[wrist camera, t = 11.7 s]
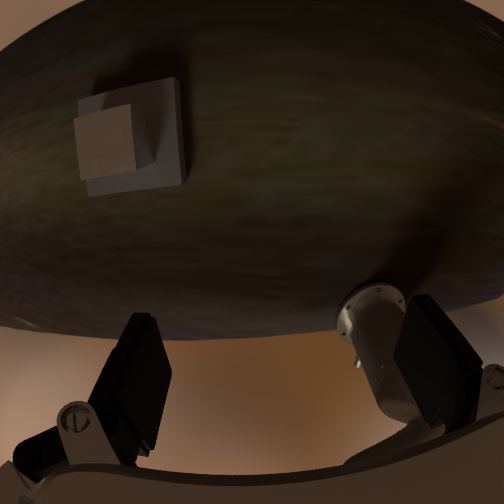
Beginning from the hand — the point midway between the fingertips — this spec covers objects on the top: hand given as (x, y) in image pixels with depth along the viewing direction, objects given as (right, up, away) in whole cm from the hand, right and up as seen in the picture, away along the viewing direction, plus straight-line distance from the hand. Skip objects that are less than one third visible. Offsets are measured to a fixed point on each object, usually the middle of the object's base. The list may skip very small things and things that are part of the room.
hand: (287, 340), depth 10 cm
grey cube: (-16, +16, +20) cm, 30 cm away
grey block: (-16, +18, +22) cm, 33 cm away
